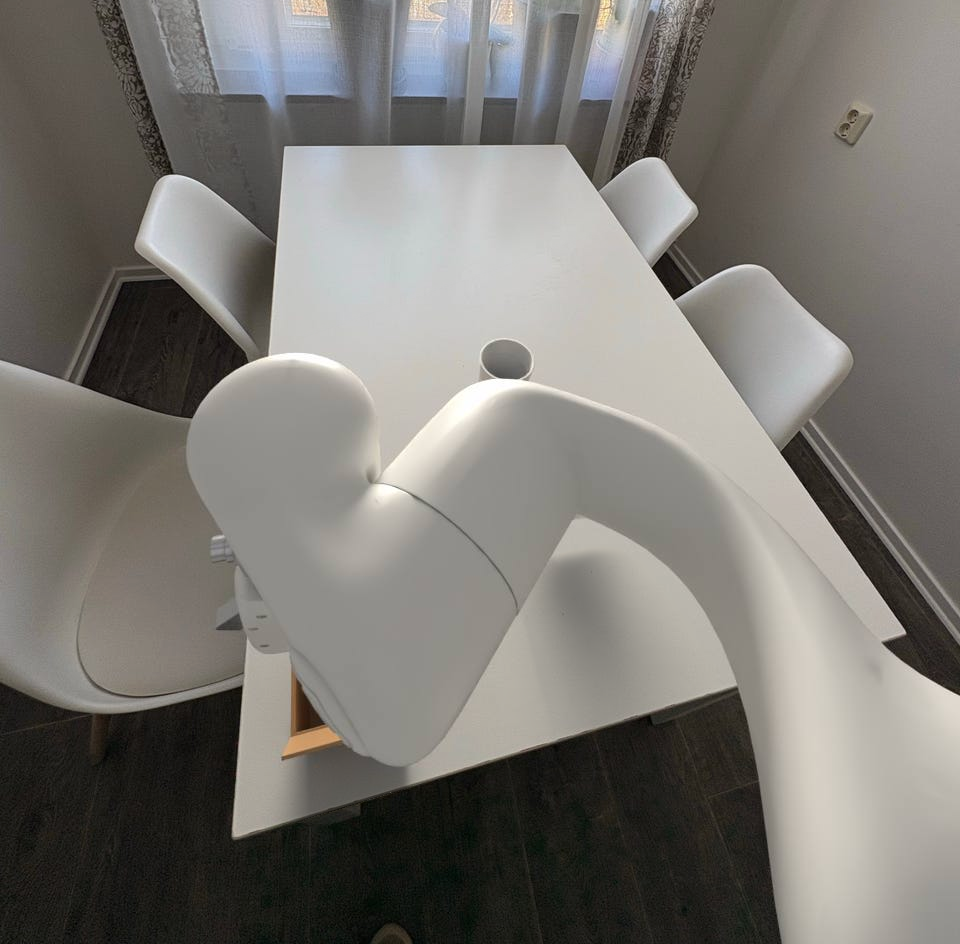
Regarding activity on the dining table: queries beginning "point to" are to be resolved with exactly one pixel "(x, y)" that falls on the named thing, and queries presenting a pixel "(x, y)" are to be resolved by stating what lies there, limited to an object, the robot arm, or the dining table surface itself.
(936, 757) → the robot arm
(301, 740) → the flap
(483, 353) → the cup
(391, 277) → the dining table surface
